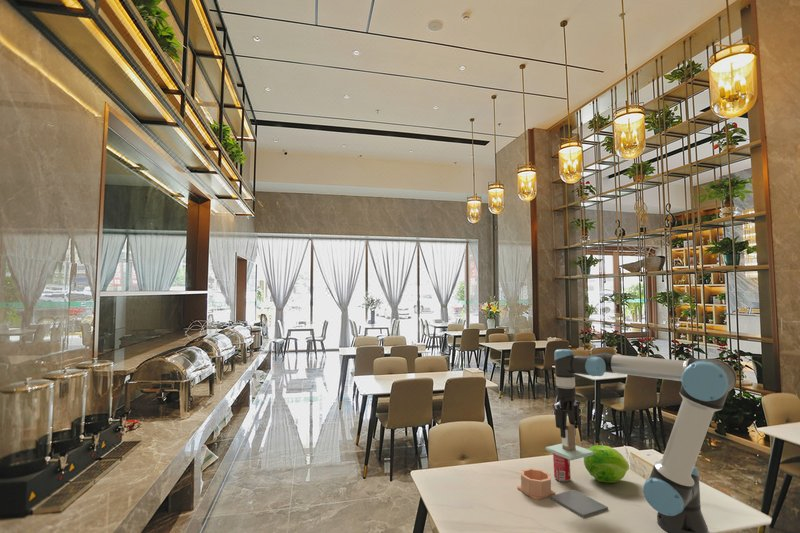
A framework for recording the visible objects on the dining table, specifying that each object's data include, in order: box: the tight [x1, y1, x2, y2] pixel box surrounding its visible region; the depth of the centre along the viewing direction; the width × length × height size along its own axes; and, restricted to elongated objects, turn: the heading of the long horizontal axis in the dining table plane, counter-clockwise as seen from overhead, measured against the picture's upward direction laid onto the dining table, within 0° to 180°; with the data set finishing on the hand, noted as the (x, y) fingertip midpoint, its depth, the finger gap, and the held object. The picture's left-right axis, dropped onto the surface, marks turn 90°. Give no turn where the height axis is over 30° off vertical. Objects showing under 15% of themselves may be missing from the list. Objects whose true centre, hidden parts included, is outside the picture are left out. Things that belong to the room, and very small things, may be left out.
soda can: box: [552, 453, 572, 483], centre depth 182 cm, size 7×7×13 cm
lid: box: [545, 422, 594, 461], centre depth 163 cm, size 13×13×11 cm
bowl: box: [516, 468, 556, 501], centre depth 169 cm, size 12×12×7 cm
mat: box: [549, 488, 609, 518], centre depth 159 cm, size 16×14×1 cm
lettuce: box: [583, 444, 630, 483], centre depth 180 cm, size 17×20×15 cm
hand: (568, 444), depth 162 cm, fingers closed on lid, 4 cm apart
